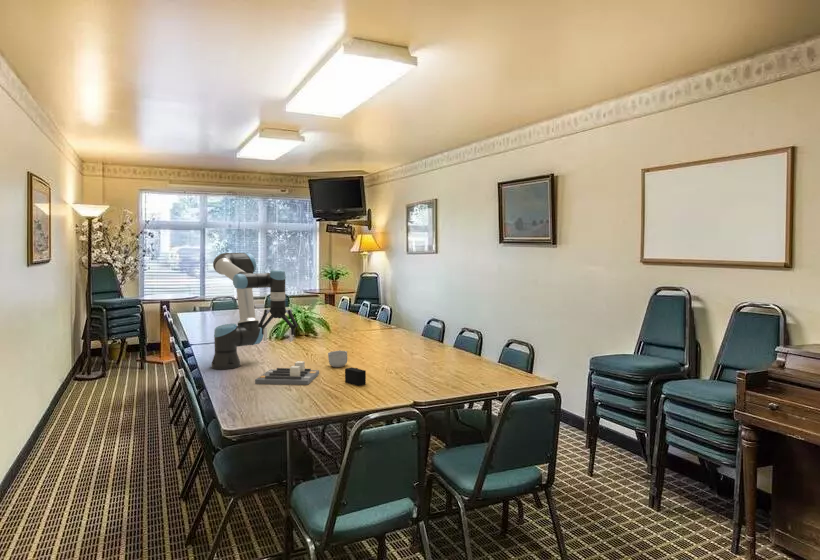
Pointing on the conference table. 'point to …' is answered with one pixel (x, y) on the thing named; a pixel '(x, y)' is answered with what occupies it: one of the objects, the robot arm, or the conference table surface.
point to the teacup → (337, 358)
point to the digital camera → (355, 376)
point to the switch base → (287, 377)
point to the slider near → (295, 371)
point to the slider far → (301, 364)
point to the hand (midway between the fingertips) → (278, 341)
